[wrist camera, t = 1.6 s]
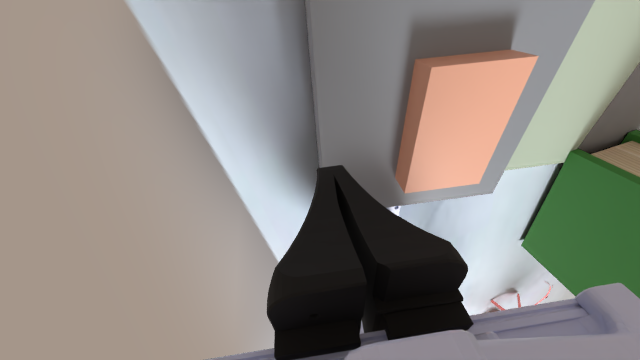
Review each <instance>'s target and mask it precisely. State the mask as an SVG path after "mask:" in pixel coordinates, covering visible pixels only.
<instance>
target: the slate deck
mask: <svg viewBox="0 0 640 360" xmlns="http://www.w3.org/2000/svg"><path fill="white" fill-rule="evenodd" d="M594 2H595V0H305V10H306V22H307V33H308V45H309V56H310V68H311V79H312V91H313V103H314V114H315V126H316V137H317V149H318V161H319V168H321V167H329V166H337V165H343V166H344V167H345V169H346V170H347V171H348V172H349V174H350V175H351V176H352V177H353V178H354V179H355V180H356V181H357V182H358V183H359V184H360V185H361V187H362V188H363V189H364V190H366V191H367V192H368V193H369V194H370V195H371V196H372V197H373V198H374V199H376V200H377V201H378V202H379V203H380V204H382V205H383V206H384V207H386V208H388V207H395V206H402V205H410V204H417V203H424V202H431V201H439V200H446V199H453V198H461V197H468V196H475V195H483V194H490V193H493V191H494V189H495V187H496V185H497V184H498V182H499V180H500V178H501V176H502V174H503V172H504V170H505V169H506V167H507V165H508V163H509V161H510V159H511V157H512V155H513V154H514V152H515V150H516V148H517V146H518V144H519V142H520V140H521V138H522V137H523V135H524V133H525V131H526V129H527V127H528V125H529V123H530V122H531V120H532V118H533V116H534V114H535V112H536V110H537V108H538V107H539V105H540V103H541V101H542V99H543V97H544V95H545V93H546V92H547V90H548V88H549V86H550V84H551V82H552V80H553V78H554V77H555V75H556V73H557V71H558V69H559V67H560V65H561V63H562V62H563V60H564V58H565V56H566V54H567V52H568V50H569V48H570V47H571V45H572V43H573V41H574V39H575V37H576V35H577V33H578V32H579V30H580V28H581V26H582V24H583V22H584V20H585V18H586V17H587V15H588V13H589V11H590V9H591V7H592V5H593V3H594ZM510 49H511V50H516V51H520V52H524V53H528V54H532V55H536V56H539V57H538V59H537V61H536V63H535V65H534V67H533V70H532V72H531V74H530V76H529V78H528V80H527V82H526V84H525V87H524V89H523V91H522V93H521V95H520V97H519V99H518V102H517V104H516V106H515V108H514V110H513V112H512V114H511V116H510V119H509V121H508V123H507V125H506V127H505V129H504V131H503V134H502V136H501V138H500V140H499V142H498V144H497V146H496V149H495V151H494V153H493V155H492V157H491V159H490V161H489V163H488V166H487V168H486V170H485V172H484V174H483V176H482V178H481V181H480V183H479V184H472V185H465V186H457V187H450V188H442V189H435V190H427V191H420V192H412V193H404V192H403V190H402V188H401V187H400V185H399V184H398V182H397V180H396V179H395V175H396V169H397V163H398V157H399V151H400V146H401V140H402V134H403V128H404V122H405V116H406V110H407V105H408V99H409V93H410V87H411V81H412V75H413V69H414V64H415V59H423V58H433V57H443V56H452V55H462V54H471V53H481V52H491V51H500V50H510Z"/></svg>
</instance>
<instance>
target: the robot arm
mask: <svg viewBox="0 0 640 360" xmlns="http://www.w3.org/2000/svg"><path fill="white" fill-rule="evenodd" d="M400 207H401V206H395V207H388V208H386V207H384V206H383V205H382V204H380V203H379V202H378V201H377V200H376V199H374V198H373V197H372V196H371V195H370V194H369V193H368V192H367V191H366V190H364V189H363V188H362V187H361V185H360V184H359V183H358V182H357V181H356V180H355V179H354V178H353V177H352V176H351V175H350V174H349V172H348V171H347V170H346V169H345V167H344V166H343V165H337V166H329V167H321V168H318V169H317V183H316V188H315V193H314V197H313V200H312V203H311V206H310V209H309V211H308V214H307V216H306V219H305V221H304V223H303V225H302V227H301V229H300V231H299V233H298V235H297V236H296V238H295V240H294V241H293V243H292V245H291V246H290V248H289V249H288V251H287V252H286V254H285V255H284V257H283V258H282V259H281V261H280V262H279V263H278V265H277V266H276V267H275V270H274V273H273V276H272V280H271V284H270V287H269V292H268V299H267V316H268V318H269V320H270V322H271V324H272V326H273V328H274V330H275V344H274V348H272V349H267V350H260V351H254V352H248V353H242V354H236V355H230V356H224V357H217V358H211V359H205V360H640V299H639V298H638V297H637V296H636V295H635V294H634V293H632V292H631V291H630V290H629V289H628V288H627V287H625V286H624V285H623V284H621V283H613V284H607V285H601V286H595V287H591V288H588V289H586V290H584V291H582V292H580V293H579V294H578V295H577V296H576V297H575V298H574V299H568V300H562V301H556V302H550V303H544V304H538V305H532V306H526V307H520V308H514V309H508V310H502V311H496V312H490V313H483V314H477V315H471V316H469V315H468V313H467V311H466V309H465V308H464V306H463V304H462V301H463V297H462V295H461V293H460V291H459V290H458V288H459V287H460V285H461V283H462V282H463V280H464V279H465V277H466V274H467V272H468V266H467V264H466V263H465V262H464V260H463V259H462V257H461V256H460V254H459V253H458V251H457V250H456V249H455V248H454V247H453V245H452V244H451V243H450V242H449V241H446V240H444V239H442V238H440V237H437V236H435V235H433V234H430V233H428V232H426V231H424V230H422V229H420V228H418V227H416V226H414V225H413V224H411V223H409V222H407V221H406V220H404V219H402V218H401V217H399V212H400Z"/></svg>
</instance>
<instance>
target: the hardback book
mask: <svg viewBox="0 0 640 360" xmlns="http://www.w3.org/2000/svg"><path fill="white" fill-rule="evenodd" d="M521 246H522V247H524V248H525V249H526V250H527V251H528V252H529V253H530V254H531V255H532V256H533V257H534V258H535V259H536V260H537V261H538V262H540V263H541V264H542V265H543V266H544V267H545V268H546V269H547V270H548V271H549V272H550V273H551V274H552V275H553V276H554V277H555V278H557V279H558V280H559V281H560V282H561V283H562V284H563V285H564V286H565V287H566V288H567V289H568V290H569V291H570V292H571V293H572V294H574V295H575V296H577V295H578V294H579V293H580V292H582V291H584V290H586V289H588V288H591V287H595V286H601V285H607V284H613V283H621V284H623V285H624V286H625V287H627V288H628V289H629V290H630V291H631V292H632V293H634V294H635V295H636V296H637V297H638V298H639V299H640V131H639V130H634V131H631V132H628V134H627V135H626V137H625V138H624V140H623V141H622V143H621V144H620V145H618V146H615V147H611V148H608V149H605V150H602V151H599V152H596V153H593V154H589V153H587V152H585V151H582V150H580V149H576V150H573V151H570V153H569V155H568V157H567V159H566V161H565V163H564V164H563V166H562V168H561V170H560V172H559V174H558V176H557V178H556V180H555V182H554V184H553V186H552V187H551V189H550V191H549V193H548V195H547V197H546V199H545V201H544V203H543V205H542V207H541V209H540V210H539V212H538V214H537V216H536V218H535V220H534V222H533V224H532V226H531V228H530V230H529V232H528V233H527V235H526V237H525V239H524V241H523V243H522V245H521Z"/></svg>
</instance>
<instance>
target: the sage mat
mask: <svg viewBox="0 0 640 360" xmlns="http://www.w3.org/2000/svg"><path fill="white" fill-rule="evenodd" d="M639 63H640V0H595V2H594V3H593V5H592V7H591V9H590V11H589V13H588V15H587V17H586V18H585V20H584V22H583V24H582V26H581V28H580V30H579V32H578V33H577V35H576V37H575V39H574V41H573V43H572V45H571V47H570V48H569V50H568V52H567V54H566V56H565V58H564V60H563V62H562V63H561V65H560V67H559V69H558V71H557V73H556V75H555V77H554V78H553V80H552V82H551V84H550V86H549V88H548V90H547V92H546V93H545V95H544V97H543V99H542V101H541V103H540V105H539V107H538V108H537V110H536V112H535V114H534V116H533V118H532V120H531V122H530V123H529V125H528V127H527V129H526V131H525V133H524V135H523V137H522V138H521V140H520V142H519V144H518V146H517V148H516V150H515V152H514V154H513V155H512V157H511V159H510V161H509V163H508V165H507V167H506V169H505V170H512V169H519V168H527V167H534V166H542V165H550V164H557V163H565V161H566V159H567V157H568V155H569V153H570V151H573V150H576V149H577V148H578V147H579V146H580V144H581V143H582V141H583V140H584V139H585V137H586V136H587V135H588V133H589V132H590V130H591V129H592V128H593V126H594V125H595V124H596V122H597V121H598V119H599V118H600V117H601V115H602V114H603V112H604V111H605V110H606V108H607V107H608V106H609V104H610V103H611V101H612V100H613V99H614V97H615V96H616V95H617V93H618V92H619V90H620V89H621V88H622V86H623V85H624V83H625V82H626V81H627V79H628V78H629V77H630V75H631V74H632V72H633V71H634V70H635V68H636V67H637V66H638V64H639Z"/></svg>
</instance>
